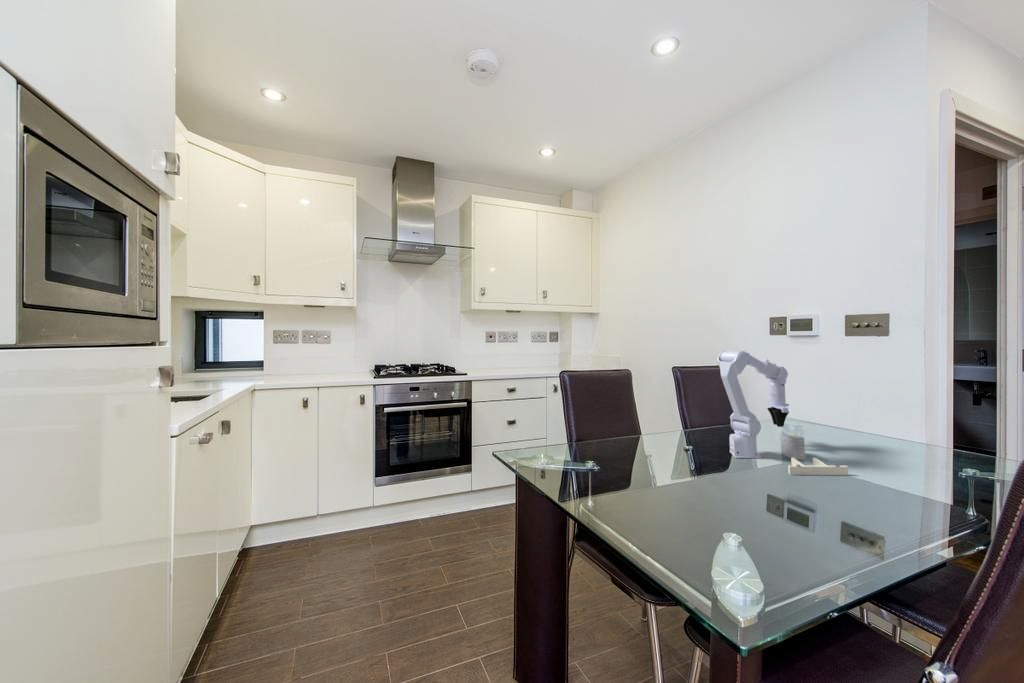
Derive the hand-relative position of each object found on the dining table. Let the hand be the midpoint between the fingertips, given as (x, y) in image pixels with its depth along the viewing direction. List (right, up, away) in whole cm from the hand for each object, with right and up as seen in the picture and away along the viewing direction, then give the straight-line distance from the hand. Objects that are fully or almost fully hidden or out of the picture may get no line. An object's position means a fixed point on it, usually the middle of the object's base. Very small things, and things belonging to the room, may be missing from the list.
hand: (778, 425), depth 169 cm
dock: (-5, -11, -24) cm, 27 cm away
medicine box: (-2, -10, -11) cm, 15 cm away
